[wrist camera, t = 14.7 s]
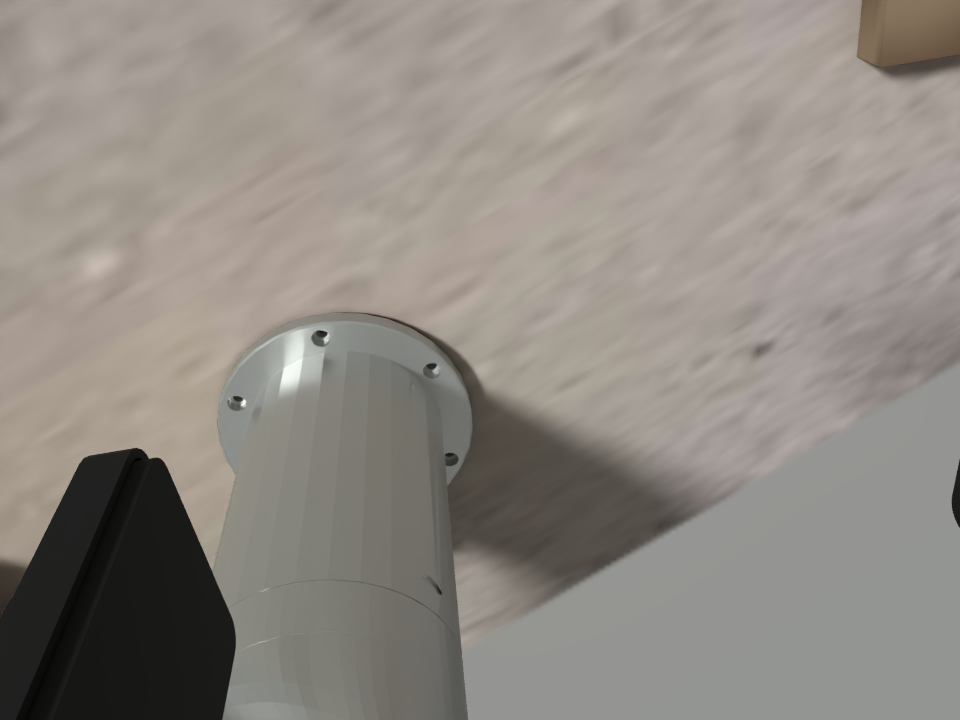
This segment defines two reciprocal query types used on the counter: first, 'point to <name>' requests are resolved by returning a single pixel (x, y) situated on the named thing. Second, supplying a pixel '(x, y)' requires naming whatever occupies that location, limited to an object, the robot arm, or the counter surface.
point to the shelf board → (908, 31)
